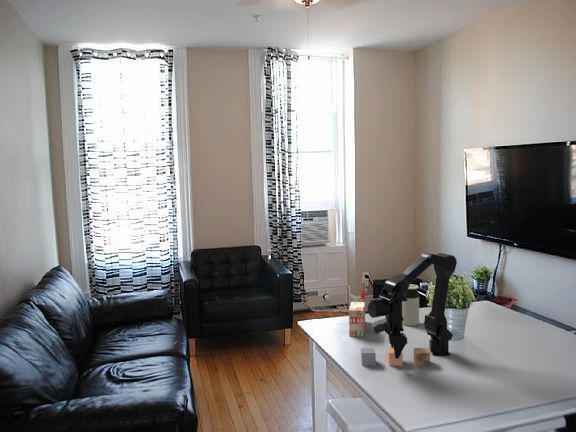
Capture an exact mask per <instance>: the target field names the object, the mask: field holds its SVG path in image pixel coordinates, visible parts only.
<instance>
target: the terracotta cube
mask: <svg viewBox="0 0 576 432" xmlns="http://www.w3.org/2000/svg"><path fill="white" fill-rule="evenodd" d="M386 351H387V353H386V358H387V359H386V361H387V363H388V366H390V367H393V366H394V367H395V366H399V367H403V366H404V365H403V363H404V360H403V359H404V356H403V355H404V354H403V351H402V352H401V354H400V356H399V358H398V359H396V358H395V354H394V348H391V347H387V350H386Z"/></svg>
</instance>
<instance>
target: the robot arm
mask: <svg viewBox="0 0 576 432" xmlns="http://www.w3.org/2000/svg"><path fill="white" fill-rule="evenodd" d="M457 261H458V260H457V258H456V256H454V255H453V254H447V253H443V252H438V253H437V254H434V253H430V252H423V253H421V255H420V257H418V258H417V259H416V260H415V261H414V262H413V263H411V264H410V265H409V266H408V267H407V268H406V269H405V270H403V271H402V272H401V273H399V274H397V275H394V276H392V277H391V278H389V279H387V280H386V281H385V282H384V283H383V285H384V286H383V288H382V290H381V291H380V293H379V295H378V296H377V298H370V302H369V303H368V306H367V312H368V315H369V316H370V317H371V318H372V319H374V318H379V317H385V318H382V319H378V320H376V321H374V322H373V321H372V323H371V327H372V329H373V331H374V334H375V335H379V334H380V333H383V332H384V333H386V334H387V335H388V342H389V345H390V348H394V354H395V358H396V359H398V358H399V356H400V354H401V352H402V353H403V350H404V348H405V347H406V345H408V337H407V335H406V334H405V333H404V330H405V328H404V327H403V326H404V324H403V321H404V318H403V302H404V301H407V300H408V299H406V298H405V297H404V294H405V293H406V291H407V290H408V289H409V285H410V284H411V283H412V282H414V281H415V280H416V279H417V278H418V277H419V276H420V275H422V274H423V273H424V272H425V271H426V270H427V269H428V268H429V267H431V266H432V265H433V269H434V272H435V283H434V284H435V285H434V291H433V298H432V303H431V304H432V305H431V310H430V312H429V313H428V314H425V315H424V322H423V323H422V324H423V325H424V330H425V331H426V333H427V336H430V339H429V341H428V344H429V345H428V346H429V348H428V350H429V352H430V354H432V356H450V352H449V341H452V340H453V336H454V334H453V333H452V332H451V331H450V330H449V329H448V320H447V317H446V314H445V311H446V305H447V298H448V292H449V284H450V278H451V276H452V275H453V274H454V273H455V271H456V267H457V263H458V262H457Z"/></svg>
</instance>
